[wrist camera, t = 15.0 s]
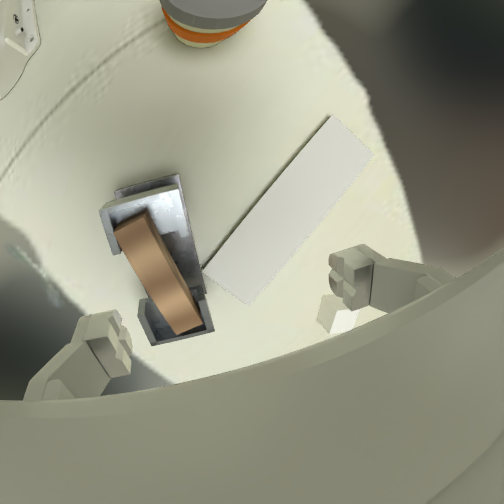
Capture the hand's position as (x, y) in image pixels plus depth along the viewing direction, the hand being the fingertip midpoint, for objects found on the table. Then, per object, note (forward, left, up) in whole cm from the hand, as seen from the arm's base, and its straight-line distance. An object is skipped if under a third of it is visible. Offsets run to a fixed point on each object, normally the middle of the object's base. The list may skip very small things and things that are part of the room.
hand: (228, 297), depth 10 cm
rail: (+10, -6, -25) cm, 28 cm away
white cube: (+33, +24, -34) cm, 53 cm away
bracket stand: (+10, -6, -34) cm, 36 cm away
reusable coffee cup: (-24, +6, -34) cm, 42 cm away
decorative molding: (+9, +15, -35) cm, 39 cm away
